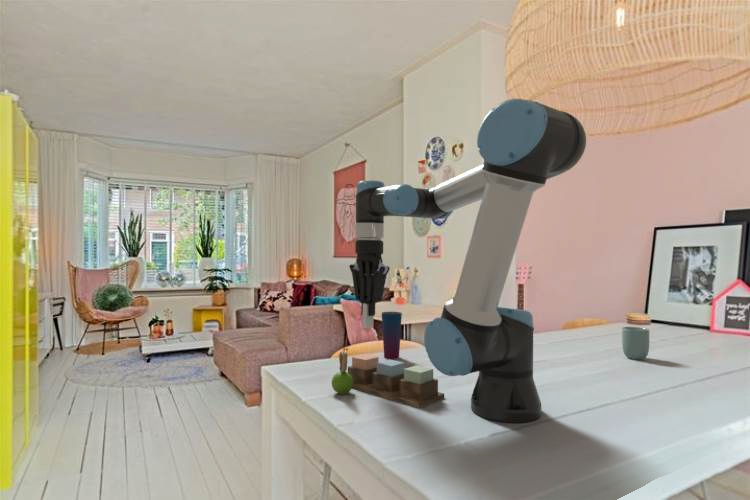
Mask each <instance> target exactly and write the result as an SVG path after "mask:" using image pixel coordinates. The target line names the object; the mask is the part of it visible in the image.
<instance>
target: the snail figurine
mask: <svg viewBox="0 0 750 500" xmlns="http://www.w3.org/2000/svg"><path fill="white" fill-rule="evenodd" d="M348 350H349V348H348V347H346V348H343V349H342V351H340V352H339V353H338V354H339V355H338V358H339V361H338V362H339V372H336V373H335V374H334V375H333V376H332V378H331V387H332V389H333V390H334V391H335V393H337V394H339V395H345V394H347V393H349V392H350V391H351V390H352V389H353V388H352V387H353V378H352V376H351V375H350V374H349V373H348V355H349V354H348V352H347V351H348ZM345 351H346V352H345Z"/></svg>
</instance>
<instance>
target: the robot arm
mask: <svg viewBox="0 0 750 500" xmlns="http://www.w3.org/2000/svg"><path fill="white" fill-rule="evenodd" d="M586 135H587V134H586V131H585V128H584V126H583V124H582V123H581V121H580V120H578V118H577V117H575V116H574V115H573V114H570V113H569V112H566V111H562V110H559V109H556V108H553V107H550V106H548V105H546V104H543V103H541V102H538V101H533V100H529V99H523V98H510V99H506V100H504V101H501V102H500V103H498V105H496V107H494V108H492V109H491V110H490V111H489V112H488V113H487V114H486V116H485V117H484V119H483V120H482V122H481V124H480V126H479V129H478V132H477V138H476V140H477V141H476V143H477V145H476V146H477V148H479V150H478V153H479V155H480V156H481V158H482V159H483V163H482V164H480V165H478V166H476V167H474V168H472V169H469V170H467V171H465V172H463V173H461V174H459V175H456V176H455V177H452V178H450V179H448V180H446V181H444V182H441V183H440V184H438V185H436V186H433V187H431V188H421V187H420V188H419V187H413V186H412V185H410V184H407V183H405V184H404V183H403V184H402V183H396V184H393V185H388V186H385V184H384V182H383V181H381V180H374V179H371V180H369V179H368V180H360V181H359V182H358V183H357V184H356V194H355V235H354V236H355V238H356V241H355V244H354V246H355V247H354V249H355V250H354V252H355V254H356V255H357V256H356V259H355V263H352V264H350V265H349V269H350V270H349V271H350V272H351V277H352V283H353V288H354V289H353V290H354V295H355V300H358V301H360V303H361V306H360V308H361V309H360V310H361V313H360V314H361V316H362V321H361V322H362V329H371V328H374V318H375V317H374V316H375V315H376V304H377V303H381V301H382V299H383V295H384V290H385V284H386V279H387V275H388V274H389V272H390V270H391V269H390V266H389V265H388V266H387V265H385V264H384V263H383V258H382V255H383V254H384V241H383V240H382V239H383V238H384V231H385V230H384V227H385V221H384V220H385V217H404V218H405V217H407V218H421V219H432V220H440V219H441V220H443V219H447V218H449V217H450V216H451V215H452V214H453V212H454V211H455V210H457V209H460V208H463V207H465V206H468V205H471V204H473V203H476V202H478V201H479V202H480V204H479V209H478V212H477V215H476V220H475V222H474V226H473V230H472V234H471V237H470V241H469V245H468V247H467V250H466V254H465V255H466V256H465V258H464V263H463V266H462V269H461V272H460V276H459V279H458V282H457V283H458V284H457V287H456V289H455V293H454V295H453V297H451V298H449V299H447V300H445V302H444V305H443V308H442V312H441V316H440V317H436V318H433V320H430V322H428V324H427V325H426V327H425V330H424V334H423V335H424V338H423V341H424V348H425V352H426V353H427V357H428V359H429V361H430V362H431V364H432V365H433V367H434V368H435V369H436V370H437V371H438V372H440V373H441V374H443V375H445V376H448V377H457V376H463V377H464V376H467V375H469V374H473V373H476V372H478V375H477V379H476V381H475V384H474V385H475V386H474V388H473V390H472V393H471V397H470V409H471V410H472V412H473V413H475V414H476V415H478V416H480V417H483V418H485V419H488V420H492V421H495V422H496V421H498V422H504V423H528V422H532V421H533V422H534V421H536V420H538V419H540V417H541V416H542V414H543V413H542V409H543V408H542V401H541V399H540V396H539V393H538V389H537V387H536V383H535V380H534V330H535V327H534V320H533V315H532V312H530V311H529V310H524V309H520V308H510V307H501V306H499V303H500V300H501V297H502V294H503V292H504V291H503V290H504V287H505V285H506V282H507V281H506V280H507V278H508V276H509V271H510V269H511V265H512V262H513V259H514V255H515V252H516V250H517V249H516V248H517V246H518V243H519V239H520V236H521V233H522V230H523V227H524V223H525V220H526V217H527V214H528V211H529V208H530V204H531V201H532V199H533V194H534V193H535V192H536V191H538V190H539V189H541V188H543V187H544V186H546V182H547V180H548V179H551V178H554V177H556V176H560V175H562V174H564V173H566V172H568V171H570V170H571V169H572V168H574V167H575V166H576V165H577V164H578V162H579V161H580V160H581V159H582V157H583V155H584V152H585V150H586V146H587V136H586Z"/></svg>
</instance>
